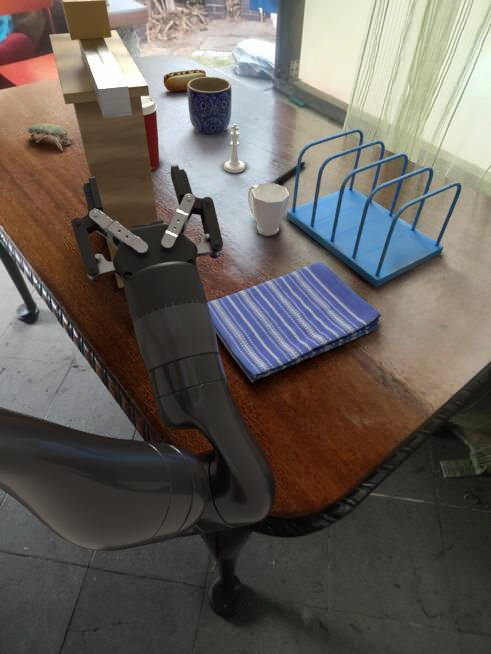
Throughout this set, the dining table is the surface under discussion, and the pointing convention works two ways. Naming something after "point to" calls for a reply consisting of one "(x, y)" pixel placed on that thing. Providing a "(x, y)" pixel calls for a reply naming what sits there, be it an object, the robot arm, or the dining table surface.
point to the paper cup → (151, 130)
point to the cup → (268, 206)
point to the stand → (110, 135)
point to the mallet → (98, 54)
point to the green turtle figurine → (49, 132)
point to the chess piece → (234, 154)
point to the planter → (209, 104)
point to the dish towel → (290, 319)
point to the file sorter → (368, 220)
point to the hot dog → (181, 79)
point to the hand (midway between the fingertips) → (133, 174)
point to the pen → (287, 174)
